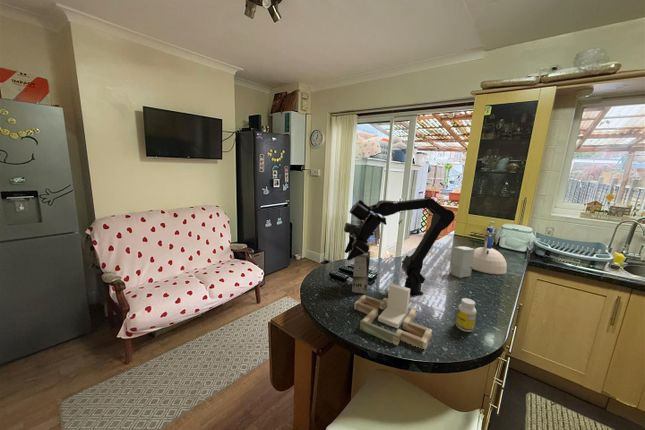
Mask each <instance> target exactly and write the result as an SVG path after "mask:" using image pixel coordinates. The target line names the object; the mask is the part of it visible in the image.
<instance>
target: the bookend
mask: <svg viewBox="0 0 645 430" xmlns="http://www.w3.org/2000/svg"><path fill="white" fill-rule="evenodd" d="M387 295H388V296H387V299H388V303H387V306H386V307H385V308H384V309H383V311H382V312H381V313H380V314H378V316H377V322H380V323H383V324H384V325H387V326H391V327H393V328H395V329H397V330H398V329H399V327H400V326H401V324H403V321H404V320H405V318H406V317H407V315H408V314H409V313H408V312H409V304H410V297H411V295H410V288H406V287H405V286H402V285H399V284H396V283H392V282H391V283H390V284H389V285H388V294H387Z"/></svg>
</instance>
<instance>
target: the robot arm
mask: <svg viewBox="0 0 645 430" xmlns="http://www.w3.org/2000/svg"><path fill="white" fill-rule="evenodd" d="M423 209H427V210H428V211H429V212H430V213H432V216H431V219H430V225H429V227H428V229H427V231H426V232H425V234H424V236H423V237H422V239H421V241H420V242H419V244H417V246H416V248H415V250H414V252H413V253H412V254H411V255H408V254H406V255H405V256H404V259H403V260H402V261H401V269H402V271H403V272H404V274H405V276H406V277H407V278H405V282H404V287H406V288H410V297H417V296H422V295H424V292H423V291H422V285H423V284H424V282H425V280H426V278H425V277H424V276H423V275H422V274H421V272H422V269H423V265H424V260H425V258H426V257H427V256H428V254H429V252H430V250H431V249H432V247H433V246H434V244H435V242H436V240H437V239H438V238H439V236H440V235H441V233H442V232H443V230H445V229H447V228H449V227H450V226H451V224H452V223H453V222H454V220H455V217H456V216H455V213H454V211H453V210H451V209H448V208H446V207H444V206H443V205H441V204H440V203H438V201H436V200H435V199H434V198H432V197H424V198H416V199H415V198H414V199H409V200H408V199H407V200H400V201H397V200H383V199H382V200H378V201H377V202H376V203H375V204H372V205H367V204H366V203H364V201H363V200H361V199H359V200H358V201H357V202H355V204H353V205H352V206H351V208H350V210H349V214H351V215H352V216H353V217H355V218H356V219H358V220H359V221H364V222H363V223H360V224H359V225H357V224H353V223H349V222H346V223H345V224H344V227H343V231H344V232H345V233H348V239H349V240H348V243H347V245H346V247H345V250H344V253H346V254H348V256H347V258H346V260H347V261H349V262H350V261H351V260H353V259H355V257H357V256H359V255H361V254H365V253H367V252H368V251H370V246H369V244H368V243H369V241H368V240H369V239H370V238H371V236H373V237H374V236H375V233H374V232H375V231H376V230H377V228H378V227H380V225H381V224H383V225H385V226H387V218H386V217H388V216H391V215H395V214H397V213H400V212H403V211H405V212H406V211H412V210H423ZM373 213H374V214H373Z"/></svg>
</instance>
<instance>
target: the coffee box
mask: <svg viewBox="0 0 645 430" xmlns="http://www.w3.org/2000/svg"><path fill="white" fill-rule="evenodd" d="M353 259H354V261H353V271H352V272H353V275H352V286H351V287H352V288H351V292H352V293H357V294H358V293H359V294H363V295H367V291H368V285H369V284H368V283H369V274H370V271H369V270H370V261H371V260H370V259H371V251H370V250H369V251H368V252H367V253H365V254H361V255H359V256H357V257H355V258H353Z"/></svg>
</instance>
